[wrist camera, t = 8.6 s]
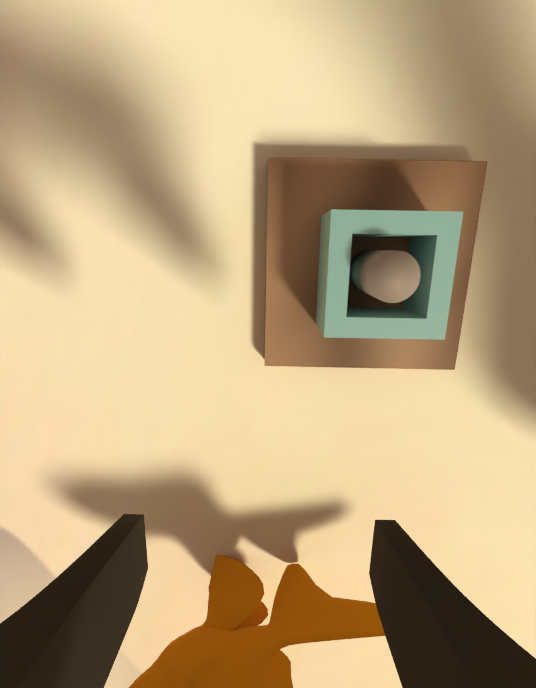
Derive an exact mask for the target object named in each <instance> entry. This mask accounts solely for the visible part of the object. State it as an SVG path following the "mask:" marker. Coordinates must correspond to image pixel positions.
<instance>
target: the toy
mask: <svg viewBox="0 0 536 688" xmlns="http://www.w3.org/2000/svg"><path fill="white" fill-rule="evenodd" d="M263 595H264V588H263V583H262V582H261V580H260V578H259V577H258V576H257V575H256V574H255V573H254V572H253V571H252V570H251V569H250V568H248V567H247V566H246V565H245V564H243V563H241V562H239V561H237V560H235V559H232V558H228V557H224V556H219V555H216V560H215V563H214V567H213V571H212V575H211V580H210V585H209V601H208V614H207V619H206V621H205V622H204V624H203V625H202V626H199V627H197V628H194V629H192V630H191V631H189V632H187V633H186V634H184V635H182V636H180V637H178V638H177V639H175V640H174V641H172V642H171V643H170V644H169V645H168V646H167V647H166V648H165V649H164V651H163V652H162V653H161V655H160V656H159V657H158V659H157V660H156V661H155V662H154V663H153V665H152V666H151V667H150V668H148V669H147V670H146V671H145V672H144V673H143V674H142V675H140V676H139V677H138V678H137V679H136V680H135V681H134V683H133V684H132V685H131V686H130V687H129V688H293V685H292V679H291V662H290V660H289V659H288V657H287V656H286V655H285V654H284V653H283V652H282V651H281V650H280V649H281V648H283V647H286V646H289V645H294V644H300V643H310V642H319V641H330V640H340V639H352V638H363V637H375V636H385V633H384V629H383V626H382V623H381V620H380V617H379V614H378V611H377V607H376V603H371V602H365V601H357V600H350V599H342V598H334V597H331V596H330V595H328V594H327V593H326V592H324V591H323V590H322V589H320V588H319V587H318V586H317V585H315V583H314V582H313V580H312V579H311V578H310V576H309V575H308V574H307V572H306V571H305V570H304V569H303V568H302V567H301V566H300V565H299V564H290V565H288V566H287V567H286V569H285V571H284V574H283V576H282V578H281V581H280V584H279V586H278V589H277V592H276V596H275V599H274V604H273V608H272V613H271V618H270V622H269V624H268V625H264V626H258V625H259V624H261V623H262V622H263V621H264V620H265V618H266V617H267V616H268V610H267V608H266V606H265V605H264V603H263V602H261V599H262V597H263Z"/></svg>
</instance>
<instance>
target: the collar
mask: <svg viewBox="0 0 536 688" xmlns="http://www.w3.org/2000/svg"><path fill="white" fill-rule="evenodd" d="M462 218H463V212H455V211H395V210H336V209H331V210H330V211H328V212H327V213H325V214H324V215H322V216H321V231H320V251H319V270H318V290H317V309H316V325H317V327H318V328H319V330H320V332H321V333H322V335H323V337H327V338H380V339H434V340H445V335H446V328H447V321H448V315H449V308H450V301H451V294H452V287H453V280H454V273H455V266H456V259H457V252H458V246H459V239H460V232H461V225H462ZM352 236H358V237H410V240H409V249H408V253H409V254H410V255H412V256H413V257H414V258H415V259H416V261H417V262H418V264H419V267H420V273H421V276H420V282H419V285H418V287H417V289H416V290H415V292H414V293H413V294H412V295H411V296H410V297H409V298H407V299H405V300H403V303H402V308H394V307H347V301H348V287H349V273H350V260H351V246H352Z"/></svg>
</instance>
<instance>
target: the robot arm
mask: <svg viewBox="0 0 536 688" xmlns="http://www.w3.org/2000/svg"><path fill="white" fill-rule="evenodd" d="M147 570H148V562H147V550H146V537H145V525H144V515H137V514H124V515H123V516H122V517H121V518H120V519H119V520H117V521H116V522H115V523H114V524H113V525H112V526H111V527H110V528H109V529H108V530H107V531H106V532H105V533H104V534H103V535H102V536H101V537H100V538H99V539H98V540H97V541H96V542H95V543H94V544H93V545H92V546H91V547H90V548H88V549H87V550H86V551H85V552H84V553H83V554H82V555H81V556H80V557H79V558H78V559H77V560H76V561H75V562H73V563H72V564H71V565H70V566H69V567H68V568H67V569H66V570H65V571H64V572H63V573H61V574H60V575H59V576H58V577H57V578H56V579H55V580H53V581H52V582H51V583H50V584H49V585H48V586H47V587H45V588H44V589H43V590H42V591H41V592H40V593H39V594H37V595H36V596H35V597H34V598H33V599H31V600H30V601H29V602H28V603H26V604H25V605H24V606H23V607H21V608H20V609H19V610H18V611H16V612H15V613H14V614H12V615H11V616H10V617H9V618H7V619H6V620H4V621H3V622H2V623H0V688H104V685H105V683H106V680H107V678H108V676H109V673H110V671H111V668H112V666H113V664H114V661H115V659H116V656H117V654H118V651H119V649H120V647H121V644H122V642H123V639H124V637H125V634H126V632H127V629H128V627H129V624H130V622H131V620H132V617H133V615H134V612H135V610H136V607H137V604H138V601H139V598H140V594H141V591H142V588H143V584H144V581H145V577H146V573H147ZM369 574H370V579H371V584H372V589H373V593H374V598H375V602H376V607H377V611H378V614H379V617H380V620H381V623H382V626H383V629H384V633H385V636H386V639H387V642H388V645H389V648H390V651H391V654H392V657H393V660H394V663H395V666H396V669H397V672H398V675H399V678H400V681H401V684H402V687H403V688H536V659H535V658H534V657H533V656H532V655H531V654H529V653H528V652H527V651H526V650H524V649H523V648H522V647H521V646H519V645H518V644H517V643H516V642H515V641H514V640H513V639H511V638H510V637H509V636H508V635H507V634H506V633H504V632H503V631H502V630H501V629H500V628H499V627H497V626H496V625H495V624H494V623H493V622H492V621H491V620H490V619H489V618H487V617H486V616H485V615H484V614H483V613H482V612H481V611H480V610H479V609H478V608H477V607H476V606H475V605H474V604H473V603H472V602H471V601H469V600H468V599H467V598H466V597H465V596H464V595H463V594H462V593H461V592H460V591H459V590H458V589H457V588H456V587H455V586H454V585H453V584H452V583H451V582H450V580H449V579H448V578H447V577H446V576H445V575H444V574H443V573H442V572H441V571H440V570H439V569H438V568H437V567H436V566H435V565H434V563H433V562H432V561H431V560H430V559H429V558H428V557H427V556H426V555H425V554H424V552H423V551H422V550H421V549H420V548H419V547H418V546H417V545H416V543H415V542H414V541H413V540H412V539H411V538H410V537H409V535H408V534H407V533H406V532H405V531H404V530H403V529H402V528H401V526H400V525H399V524H398V523H397V522H396V521H395V520H375V526H374V535H373V544H372V553H371V562H370V571H369Z"/></svg>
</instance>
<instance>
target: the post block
mask: <svg viewBox="0 0 536 688" xmlns="http://www.w3.org/2000/svg"><path fill="white" fill-rule="evenodd" d="M486 166H487V162H484V161H426V160H367V159H308V158H268V189H267V251H266V313H265V366H301V367H351V368H400V369H450V370H455V364H456V358H457V351H458V345H459V338H460V332H461V326H462V319H463V313H464V306H465V300H466V294H467V287H468V281H469V274H470V268H471V262H472V255H473V249H474V242H475V236H476V230H477V223H478V217H479V210H480V204H481V198H482V191H483V185H484V178H485V172H486ZM331 209H336V210H395V211H455V212H463V218H462V225H461V232H460V239H459V246H458V252H457V259H456V266H455V273H454V280H453V287H452V294H451V301H450V308H449V315H448V321H447V328H446V335H445V340H434V339H380V338H327V337H323V335H322V333H321V332H320V330H319V328H318V327H317V325H316V309H317V290H318V270H319V251H320V231H321V216H322V215H324V214H325V213H327V212H328V211H330V210H331ZM409 240H410V237H358V236H352V246H351V260H350V273H349V287H348V301H347V307H394V308H402V303H403V300H405V299H407V298H409V297H410V296H411V295H412V294H413V293H414V292H415V290H416V289H417V287H418V285H419V282H420V276H421V273H420V267H419V264H418V262H417V261H416V259H415V258H414V257H413V256H412V255H410V254H409V253H408V249H409Z"/></svg>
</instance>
